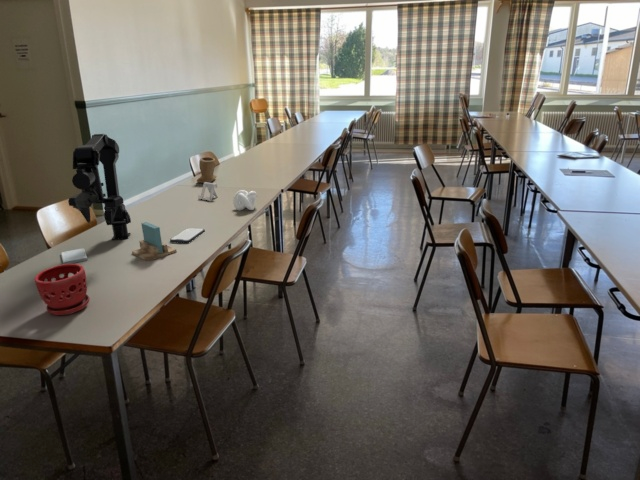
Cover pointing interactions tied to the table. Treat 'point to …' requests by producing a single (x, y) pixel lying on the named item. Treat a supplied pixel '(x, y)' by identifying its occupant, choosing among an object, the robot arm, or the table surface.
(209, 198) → the portable electronic device stand
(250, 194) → the white knot sculpture
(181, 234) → the smartphone
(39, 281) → the plant pot
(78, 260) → the hard drive
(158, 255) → the stand
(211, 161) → the stone cup
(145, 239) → the panel
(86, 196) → the robot arm
